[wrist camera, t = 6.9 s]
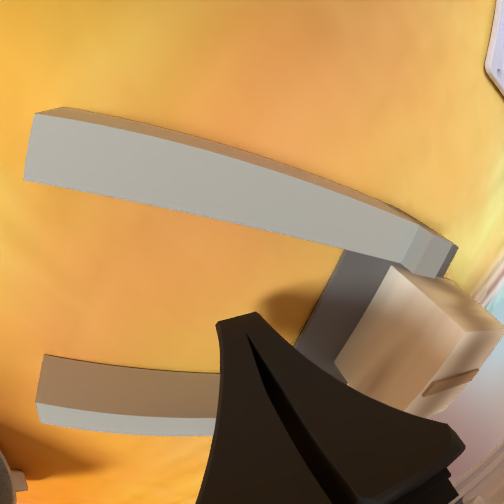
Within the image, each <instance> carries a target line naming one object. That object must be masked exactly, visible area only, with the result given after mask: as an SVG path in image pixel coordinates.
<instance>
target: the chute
mask: <svg viewBox="0 0 504 504" xmlns="http://www.w3.org/2000/svg"><path fill="white" fill-rule="evenodd" d="M23 180H24V181H30V182H35V183H41V184H46V185H51V186H57V187H62V188H67V189H72V190H78V191H83V192H88V193H93V194H98V195H103V196H108V197H113V198H118V199H123V200H128V201H133V202H138V203H142V204H147V205H152V206H157V207H162V208H166V209H171V210H176V211H180V212H185V213H190V214H194V215H199V216H203V217H208V218H213V219H217V220H222V221H226V222H231V223H235V224H239V225H244V226H248V227H253V228H257V229H261V230H266V231H270V232H274V233H279V234H283V235H287V236H291V237H296V238H300V239H304V240H308V241H313V242H317V243H321V244H325V245H329V246H333V247H337V248H341V249H346V250H350V251H354V252H358V253H362V254H366V255H370V256H374V257H378V258H382V259H386V260H389V261H393V262H397V263H401V264H402V265H403V266H405V267H406V268H407V269H408V270H409V271H411V272H412V273H413V274H417V275H421V276H426V277H430V278H434V279H435V277H436V275H437V273H438V271H439V270H440V268H441V266H442V264H443V262H444V260H445V258H446V256H447V254H448V252H449V251H450V249H451V247H452V245H453V243H452V242H451V241H449V240H448V239H446V238H445V237H443V236H441V235H440V234H438V233H437V232H435V231H434V230H432V229H431V228H429V227H428V226H426V225H424V224H423V223H421V222H420V221H418V220H416V219H415V218H413V217H412V216H410V215H408V214H407V213H405V212H403V211H402V210H400V209H398V208H396V207H393V206H391V205H389V204H386V203H384V202H382V201H379V200H377V199H375V198H372V197H370V196H367V195H365V194H363V193H360V192H358V191H355V190H353V189H350V188H348V187H345V186H343V185H340V184H337V183H335V182H332V181H330V180H327V179H324V178H322V177H319V176H316V175H314V174H311V173H308V172H305V171H303V170H300V169H297V168H294V167H291V166H289V165H286V164H283V163H280V162H277V161H274V160H271V159H268V158H265V157H262V156H259V155H256V154H253V153H250V152H246V151H243V150H240V149H237V148H234V147H230V146H227V145H224V144H220V143H217V142H213V141H210V140H206V139H203V138H199V137H196V136H192V135H188V134H185V133H181V132H177V131H173V130H169V129H166V128H162V127H158V126H153V125H149V124H145V123H141V122H137V121H132V120H128V119H123V118H119V117H114V116H109V115H104V114H99V113H94V112H89V111H84V110H78V109H72V108H67V107H60V108H56V109H51V110H47V111H43V112H38V113H35V114H34V119H33V124H32V128H31V133H30V139H29V144H28V150H27V156H26V163H25V170H24V178H23ZM219 384H220V374H211V373H190V372H174V371H160V370H149V369H139V368H129V367H120V366H112V365H105V364H97V363H90V362H84V361H77V360H71V359H66V358H60V357H54V356H49V355H44V357H43V362H42V367H41V372H40V377H39V383H38V389H37V395H36V401H35V403H36V407H37V411H38V415H39V419H40V422H41V423H45V424H50V425H55V426H61V427H67V428H74V429H81V430H89V431H97V432H106V433H117V434H130V435H148V436H213V434H214V429H215V422H216V415H217V407H218V398H219Z"/></svg>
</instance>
